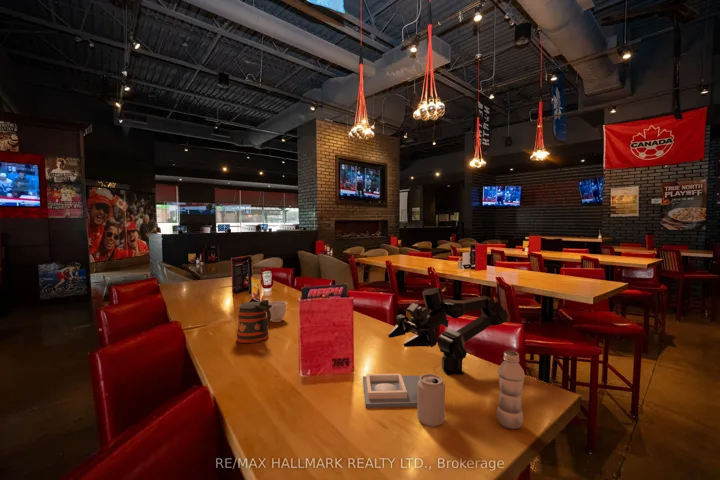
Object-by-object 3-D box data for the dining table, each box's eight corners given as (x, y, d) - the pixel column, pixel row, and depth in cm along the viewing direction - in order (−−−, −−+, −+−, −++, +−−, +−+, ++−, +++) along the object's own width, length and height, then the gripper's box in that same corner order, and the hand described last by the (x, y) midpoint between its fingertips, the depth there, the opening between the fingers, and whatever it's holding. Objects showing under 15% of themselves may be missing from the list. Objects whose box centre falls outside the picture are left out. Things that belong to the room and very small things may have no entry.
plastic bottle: (491, 418, 89) (493, 349, 88) (514, 417, 90) (516, 348, 89) (504, 433, 83) (505, 358, 82) (528, 432, 83) (530, 358, 82)
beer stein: (282, 336, 153) (281, 296, 152) (261, 347, 140) (260, 303, 139) (252, 331, 161) (251, 292, 160) (229, 340, 148) (229, 298, 147)
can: (445, 430, 84) (446, 386, 83) (416, 426, 85) (417, 383, 85) (443, 413, 91) (444, 373, 91) (417, 410, 93) (417, 370, 92)
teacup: (259, 324, 171) (259, 306, 171) (271, 317, 186) (271, 300, 185) (280, 326, 169) (280, 307, 169) (290, 318, 184) (290, 301, 183)
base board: (418, 378, 112) (418, 369, 112) (431, 406, 95) (431, 396, 95) (362, 379, 111) (362, 370, 111) (365, 407, 94) (365, 397, 94)
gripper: (409, 294, 119) (375, 312, 112) (444, 306, 102) (406, 327, 95) (416, 320, 121) (383, 339, 114) (451, 336, 104) (415, 359, 98)
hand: (396, 340), depth 105 cm, fingers open, 9 cm apart
